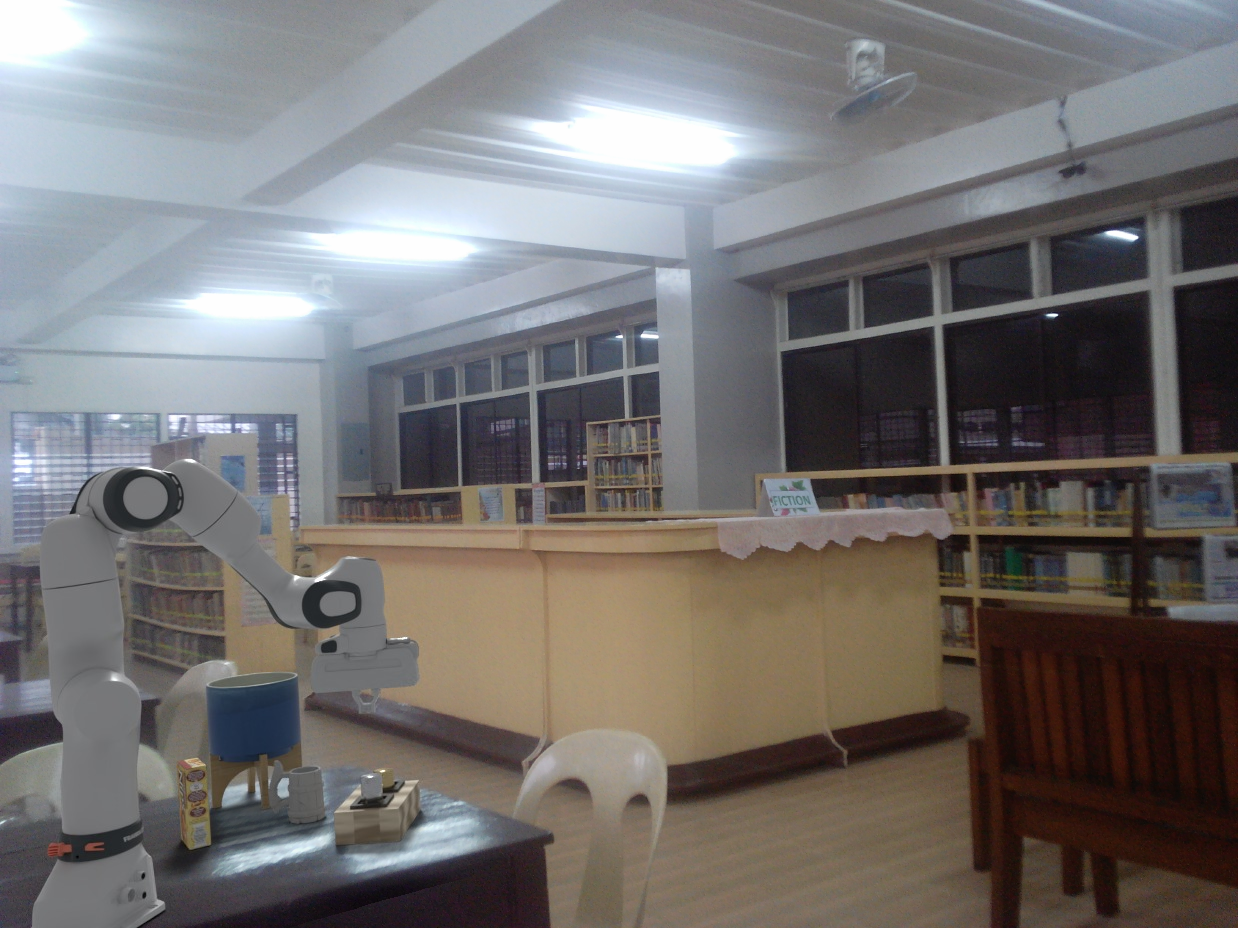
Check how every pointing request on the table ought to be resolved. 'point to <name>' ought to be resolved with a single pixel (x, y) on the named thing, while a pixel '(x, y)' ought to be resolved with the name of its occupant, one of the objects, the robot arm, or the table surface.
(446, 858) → the table surface
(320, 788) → the mug
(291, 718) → the planter
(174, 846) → the table surface
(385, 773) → the peg
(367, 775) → the peg
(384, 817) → the socket block
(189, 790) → the candy box
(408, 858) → the table surface
